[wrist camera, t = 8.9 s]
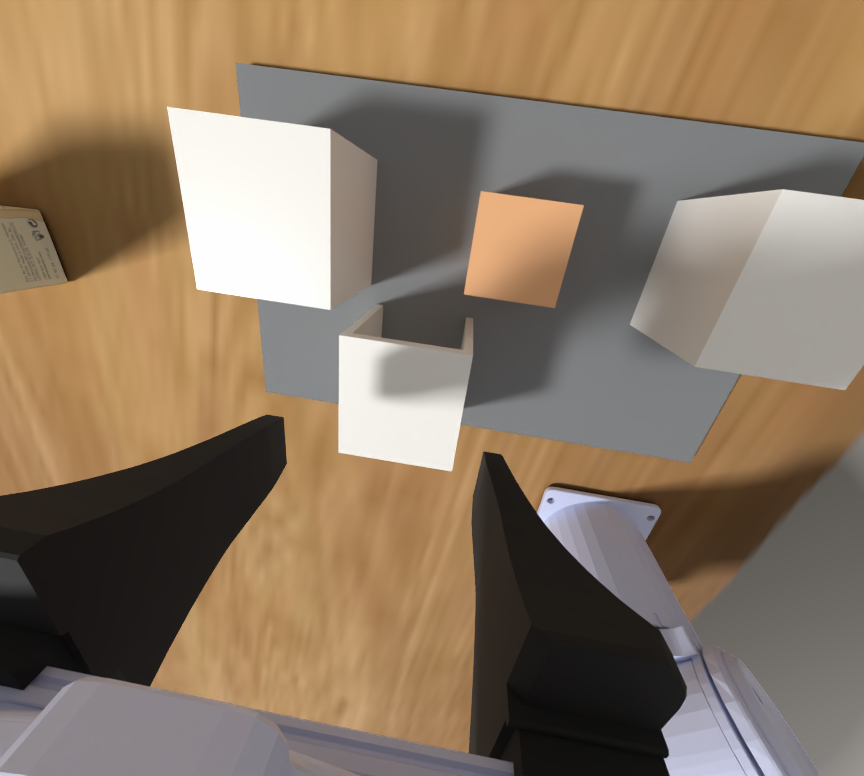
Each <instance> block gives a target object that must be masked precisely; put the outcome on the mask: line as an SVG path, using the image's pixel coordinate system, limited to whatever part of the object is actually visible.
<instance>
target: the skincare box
mask: <svg viewBox="0 0 864 776" xmlns="http://www.w3.org/2000/svg"><path fill="white" fill-rule="evenodd" d="M64 283H67V278H66V276H65V274H64V271H63V269H62V266H61V264H60V260H59V258H58V256H57V253H56V250H55V248H54V245H53V242H52V240H51V237H50V235H49V233H48V230H47V228H46V225H45V223H44V220H43V218H42V215H41V213H40V211H39V210H37V209H29V208H19V207H10V206H0V293H7V292H13V291H19V290H25V289H32V288H38V287H44V286H51V285H58V284H64Z"/></svg>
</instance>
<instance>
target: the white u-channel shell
mask: <svg viewBox="0 0 864 776" xmlns="http://www.w3.org/2000/svg"><path fill="white" fill-rule="evenodd" d="M382 320H383V305H380V304H376V305H375V306H374V307H372V308H371V309H370V310H369V311H368V312H366V313H365V314H364V315H363V316H362V317H360V318H359V319H358V320H357V321H356V322H354V323H353V324H352V325H351V326H350V327H348V328H347V329H346V330H345V331H343V332H342V333H341V334H340V335H339V453H345V454H351V455H357V456H363V457H368V458H374V459H380V460H386V461H392V462H398V463H404V464H410V465H416V466H422V467H428V468H434V469H440V470H446V471H452V467H453V462H454V456H455V451H456V446H457V440H458V435H459V429H460V424H461V418H462V413H463V408H464V402H465V397H466V391H467V386H468V380H469V375H470V369H471V364H472V359H473V318H468V317H466V322H465V328H464V334H463V340H462V346H461V350H460V349H454V348H447V347H440V346H434V345H427V344H420V343H414V342H407V341H401V340H394V339H387V338H381V337H382Z"/></svg>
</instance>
